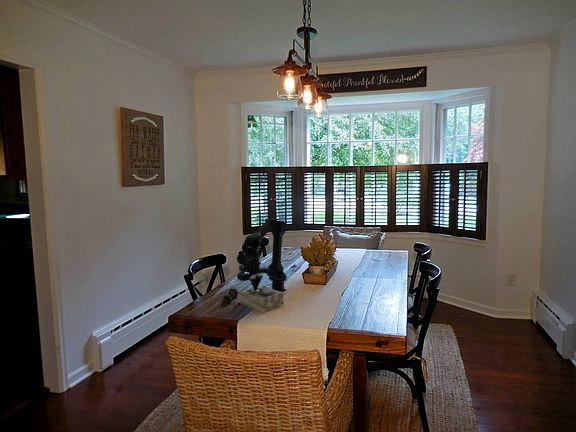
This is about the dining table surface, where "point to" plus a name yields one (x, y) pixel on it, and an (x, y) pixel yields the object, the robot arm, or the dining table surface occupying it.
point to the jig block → (261, 299)
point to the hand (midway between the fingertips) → (255, 290)
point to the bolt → (230, 296)
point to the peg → (266, 290)
